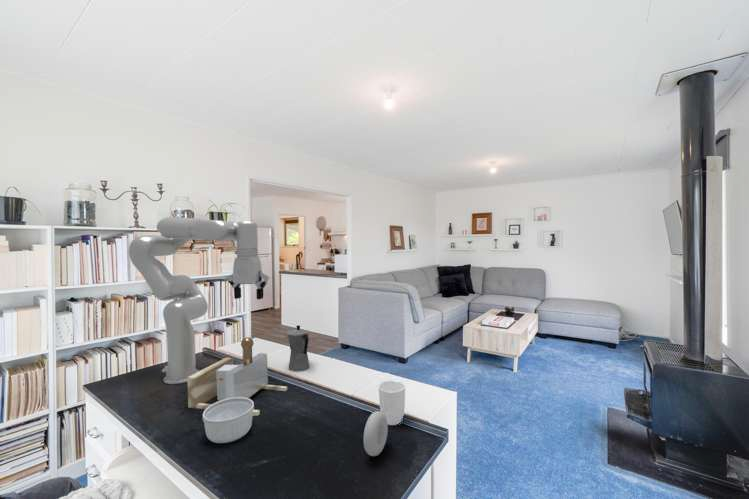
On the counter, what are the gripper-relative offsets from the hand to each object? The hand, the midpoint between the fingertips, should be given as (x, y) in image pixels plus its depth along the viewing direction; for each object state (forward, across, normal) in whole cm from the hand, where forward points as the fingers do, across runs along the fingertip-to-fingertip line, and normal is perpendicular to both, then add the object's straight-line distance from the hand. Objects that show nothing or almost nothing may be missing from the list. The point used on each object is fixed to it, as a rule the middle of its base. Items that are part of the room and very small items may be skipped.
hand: (248, 298), depth 124 cm
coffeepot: (+32, +12, +17) cm, 39 cm away
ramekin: (+33, +14, -30) cm, 47 cm away
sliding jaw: (+31, +7, -12) cm, 34 cm away
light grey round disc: (+32, +57, -30) cm, 72 cm away
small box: (+33, +1, -12) cm, 35 cm away
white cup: (+32, +58, -14) cm, 68 cm away
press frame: (+32, +5, -12) cm, 35 cm away
